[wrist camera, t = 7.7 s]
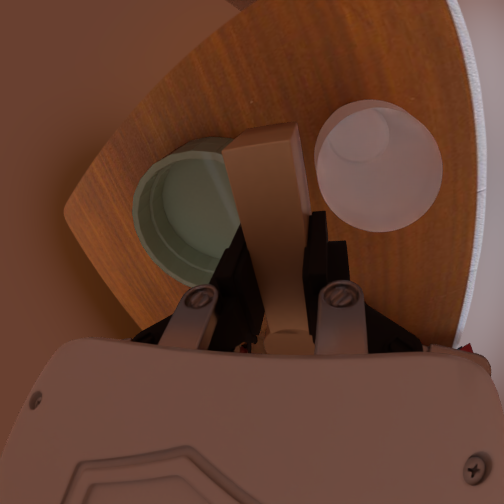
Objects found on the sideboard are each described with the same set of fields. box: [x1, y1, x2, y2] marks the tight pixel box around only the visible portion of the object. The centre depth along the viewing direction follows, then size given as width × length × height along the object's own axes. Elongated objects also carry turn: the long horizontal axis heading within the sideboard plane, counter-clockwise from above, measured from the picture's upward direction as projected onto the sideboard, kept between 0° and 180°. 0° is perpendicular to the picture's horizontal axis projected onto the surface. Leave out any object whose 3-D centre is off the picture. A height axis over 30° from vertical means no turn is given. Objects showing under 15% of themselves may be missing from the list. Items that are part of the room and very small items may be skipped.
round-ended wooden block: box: [222, 122, 315, 355], centre depth 12 cm, size 10×3×3 cm, turn 13°
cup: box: [314, 100, 443, 232], centre depth 21 cm, size 9×9×12 cm
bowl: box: [132, 137, 240, 288], centre depth 32 cm, size 18×18×6 cm
